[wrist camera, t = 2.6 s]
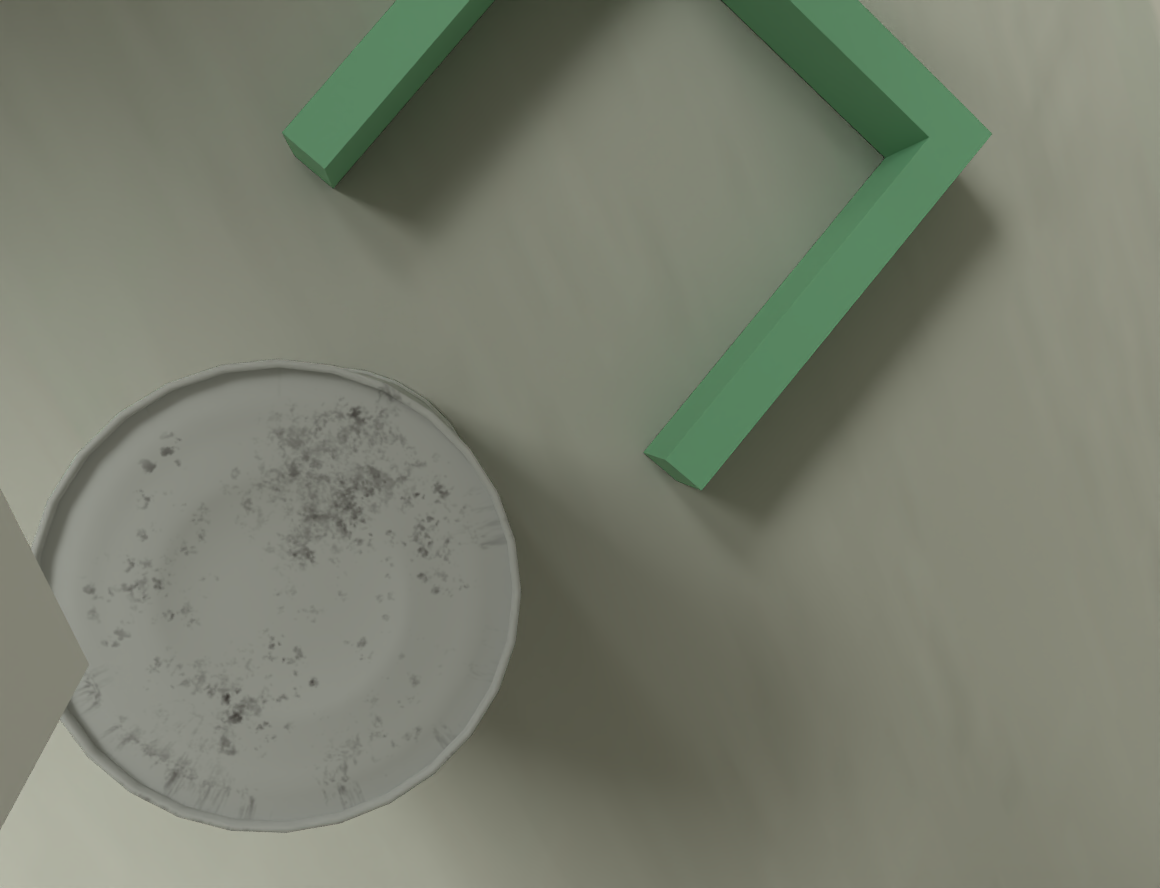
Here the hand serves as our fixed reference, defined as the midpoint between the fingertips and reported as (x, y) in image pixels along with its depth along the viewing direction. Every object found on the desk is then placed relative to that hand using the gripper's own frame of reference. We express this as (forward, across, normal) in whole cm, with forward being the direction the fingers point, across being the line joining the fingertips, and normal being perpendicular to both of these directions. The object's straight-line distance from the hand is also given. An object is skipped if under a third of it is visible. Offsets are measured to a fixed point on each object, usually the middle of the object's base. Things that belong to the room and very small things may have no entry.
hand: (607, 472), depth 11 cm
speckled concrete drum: (+18, -9, -10) cm, 23 cm away
